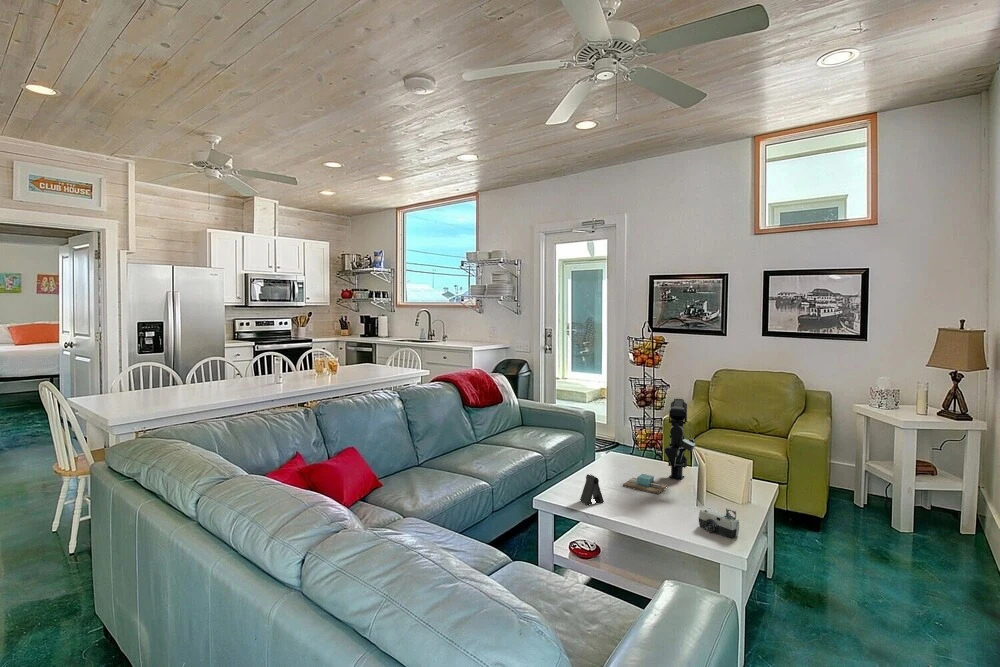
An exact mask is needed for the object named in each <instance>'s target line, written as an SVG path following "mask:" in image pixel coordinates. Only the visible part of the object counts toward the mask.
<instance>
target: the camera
mask: <svg viewBox="0 0 1000 667" xmlns="http://www.w3.org/2000/svg"><path fill="white" fill-rule="evenodd" d="M730 512H732V513H733V515H734V516H733V515H732V514H731V513H730ZM698 525H699V528H702V529H703V530H705V531H706V532H707V533H709V534H713V533H714V534H717V535H719V536H723V537H725V538H727V539H730V540H732V539H735V538H736V537H738V536H739V532H740V519H739V518H738V517H737V511H736V510H733V509H730V508H727V507H726V508H725V513H723V512H720V511H717V510H715V509H714V510H713V509H711V508H709V507H705V508H701V509H699V513H698Z"/></svg>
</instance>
